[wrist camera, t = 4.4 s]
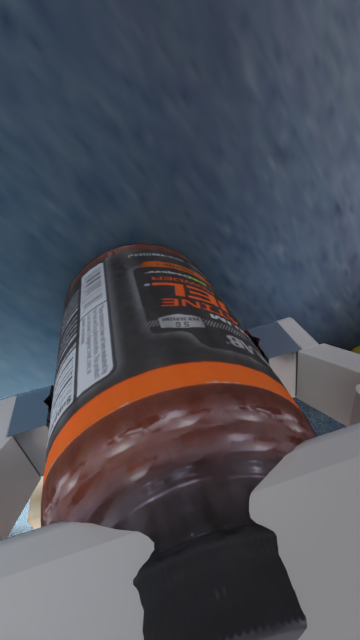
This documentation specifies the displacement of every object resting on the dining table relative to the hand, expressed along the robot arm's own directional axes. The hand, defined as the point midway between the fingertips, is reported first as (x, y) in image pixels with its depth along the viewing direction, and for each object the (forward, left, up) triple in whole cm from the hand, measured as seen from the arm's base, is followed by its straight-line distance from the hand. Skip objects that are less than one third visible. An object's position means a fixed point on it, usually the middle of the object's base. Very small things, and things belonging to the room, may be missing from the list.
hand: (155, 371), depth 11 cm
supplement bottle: (0, 0, -4) cm, 4 cm away
